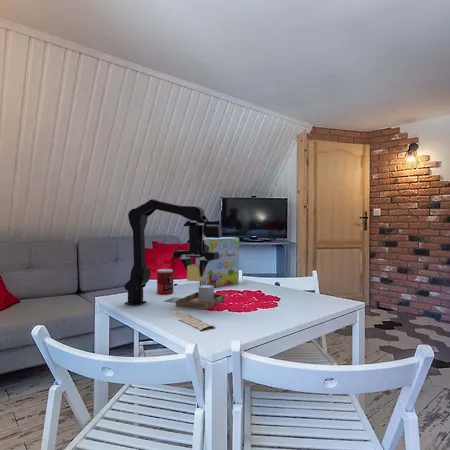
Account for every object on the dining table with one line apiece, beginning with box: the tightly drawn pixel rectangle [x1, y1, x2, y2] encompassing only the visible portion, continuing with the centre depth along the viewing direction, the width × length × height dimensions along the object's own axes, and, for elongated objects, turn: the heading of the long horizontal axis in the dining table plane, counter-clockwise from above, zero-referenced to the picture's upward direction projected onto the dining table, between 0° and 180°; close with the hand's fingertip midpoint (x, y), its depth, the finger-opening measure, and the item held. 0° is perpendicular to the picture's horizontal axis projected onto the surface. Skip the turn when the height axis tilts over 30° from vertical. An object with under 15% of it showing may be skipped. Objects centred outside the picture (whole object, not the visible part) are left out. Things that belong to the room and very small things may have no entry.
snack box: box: [199, 236, 240, 288], centre depth 189 cm, size 22×9×26 cm, turn 132°
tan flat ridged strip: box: [168, 310, 217, 331], centre depth 123 cm, size 24×7×2 cm, turn 36°
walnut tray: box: [175, 291, 226, 311], centre depth 147 cm, size 18×14×3 cm
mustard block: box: [186, 263, 204, 282], centre depth 142 cm, size 5×5×6 cm
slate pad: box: [163, 296, 182, 304], centre depth 151 cm, size 8×8×1 cm
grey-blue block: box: [197, 285, 215, 302], centre depth 151 cm, size 5×5×6 cm
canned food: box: [156, 268, 174, 295], centre depth 169 cm, size 8×8×11 cm
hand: (195, 276), depth 142 cm, fingers closed on mustard block, 5 cm apart
